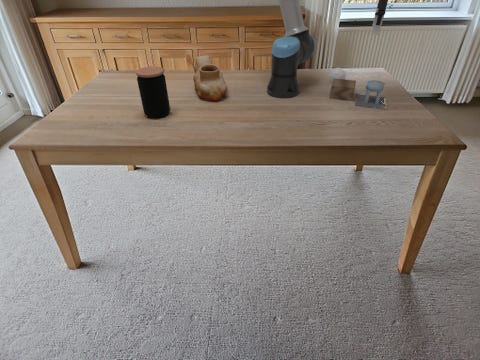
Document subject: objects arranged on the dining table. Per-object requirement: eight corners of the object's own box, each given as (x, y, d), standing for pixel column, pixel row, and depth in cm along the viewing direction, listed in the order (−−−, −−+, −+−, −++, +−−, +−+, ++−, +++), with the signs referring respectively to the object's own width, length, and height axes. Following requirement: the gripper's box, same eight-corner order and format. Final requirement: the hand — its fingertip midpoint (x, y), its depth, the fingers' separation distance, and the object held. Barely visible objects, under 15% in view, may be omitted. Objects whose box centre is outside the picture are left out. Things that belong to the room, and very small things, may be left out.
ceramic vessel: (216, 81, 159) (214, 51, 150) (231, 100, 139) (230, 66, 130) (190, 85, 155) (186, 54, 146) (202, 104, 136) (198, 70, 126)
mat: (355, 105, 133) (355, 104, 133) (356, 94, 143) (356, 93, 143) (387, 109, 130) (387, 108, 129) (386, 98, 139) (386, 97, 139)
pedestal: (329, 98, 140) (331, 85, 136) (331, 90, 147) (333, 78, 143) (352, 101, 137) (355, 88, 133) (353, 93, 144) (356, 80, 141)
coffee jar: (175, 110, 131) (169, 67, 120) (162, 121, 123) (154, 76, 112) (153, 107, 134) (145, 65, 123) (139, 117, 126) (129, 73, 115)
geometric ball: (331, 88, 156) (323, 75, 154) (340, 79, 159) (332, 66, 156) (341, 85, 150) (334, 71, 147) (351, 76, 152) (343, 62, 149)
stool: (362, 102, 134) (367, 85, 129) (363, 97, 140) (367, 79, 135) (379, 104, 132) (384, 86, 128) (379, 98, 138) (384, 81, 133)
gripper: (406, -32, 99) (385, 38, 112) (401, -36, 117) (384, 25, 131) (381, -33, 101) (364, 36, 114) (381, -37, 119) (366, 23, 132)
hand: (375, 30), depth 122 cm, fingers open, 13 cm apart
